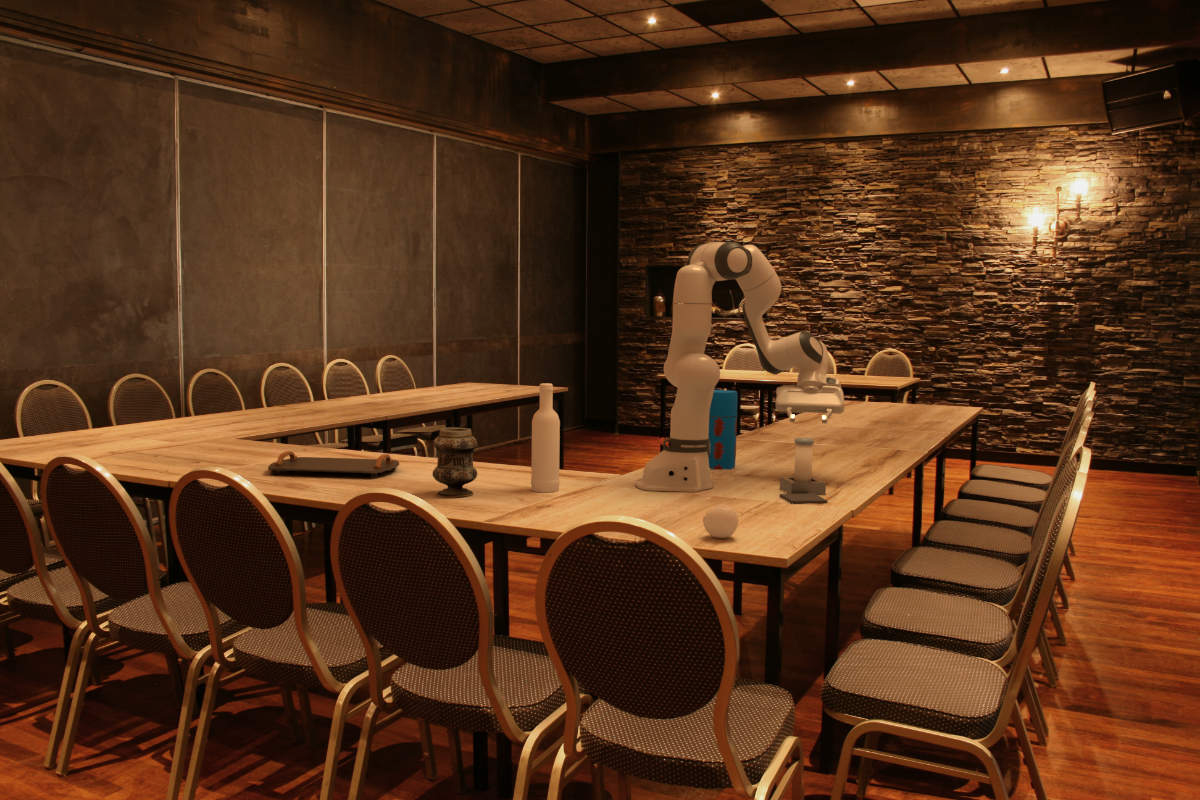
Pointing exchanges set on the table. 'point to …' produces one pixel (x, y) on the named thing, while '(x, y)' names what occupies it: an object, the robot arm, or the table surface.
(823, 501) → the mat
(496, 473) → the table surface
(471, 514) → the table surface
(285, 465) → the serving board
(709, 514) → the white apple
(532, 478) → the bottle
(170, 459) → the table surface
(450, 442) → the apothecary jar
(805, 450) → the cylinder
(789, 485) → the collar
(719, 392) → the red-spotted teal box
